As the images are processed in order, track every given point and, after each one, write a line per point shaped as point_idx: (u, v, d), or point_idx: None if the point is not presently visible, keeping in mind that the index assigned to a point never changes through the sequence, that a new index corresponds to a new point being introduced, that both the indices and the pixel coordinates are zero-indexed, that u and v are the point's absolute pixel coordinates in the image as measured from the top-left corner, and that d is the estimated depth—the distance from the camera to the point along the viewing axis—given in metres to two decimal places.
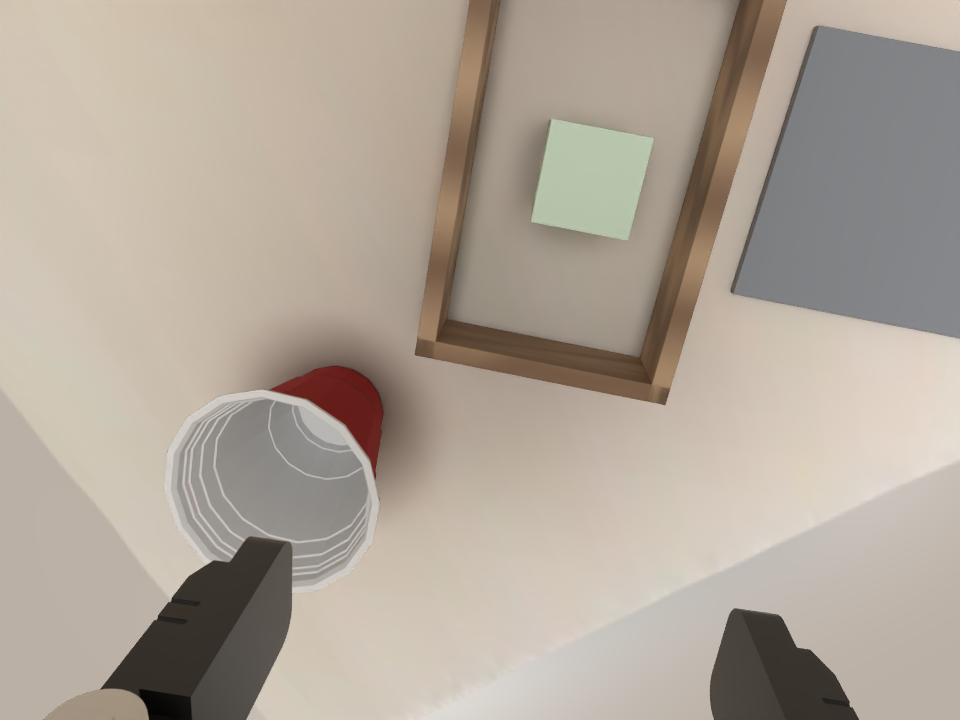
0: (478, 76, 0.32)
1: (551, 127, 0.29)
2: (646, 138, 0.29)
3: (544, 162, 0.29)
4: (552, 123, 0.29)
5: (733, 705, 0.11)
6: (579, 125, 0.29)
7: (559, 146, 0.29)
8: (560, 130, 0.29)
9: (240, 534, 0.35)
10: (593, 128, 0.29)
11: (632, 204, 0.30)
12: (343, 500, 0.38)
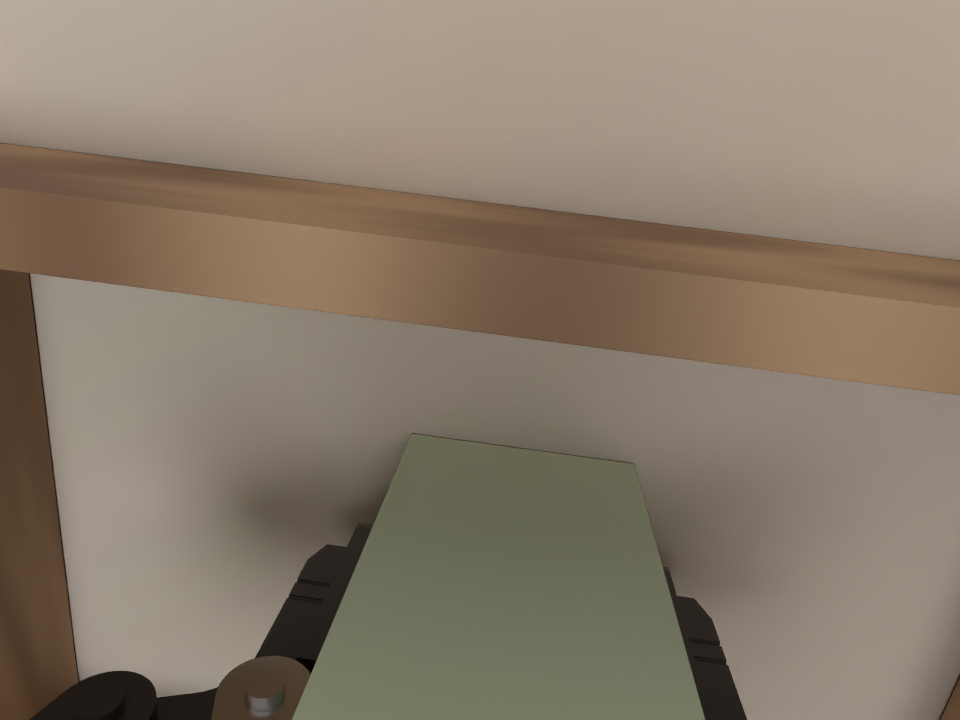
0: (854, 377, 0.08)
1: None
2: None
3: None
4: None
5: None
6: None
7: None
8: None
9: None
10: None
11: None
12: None
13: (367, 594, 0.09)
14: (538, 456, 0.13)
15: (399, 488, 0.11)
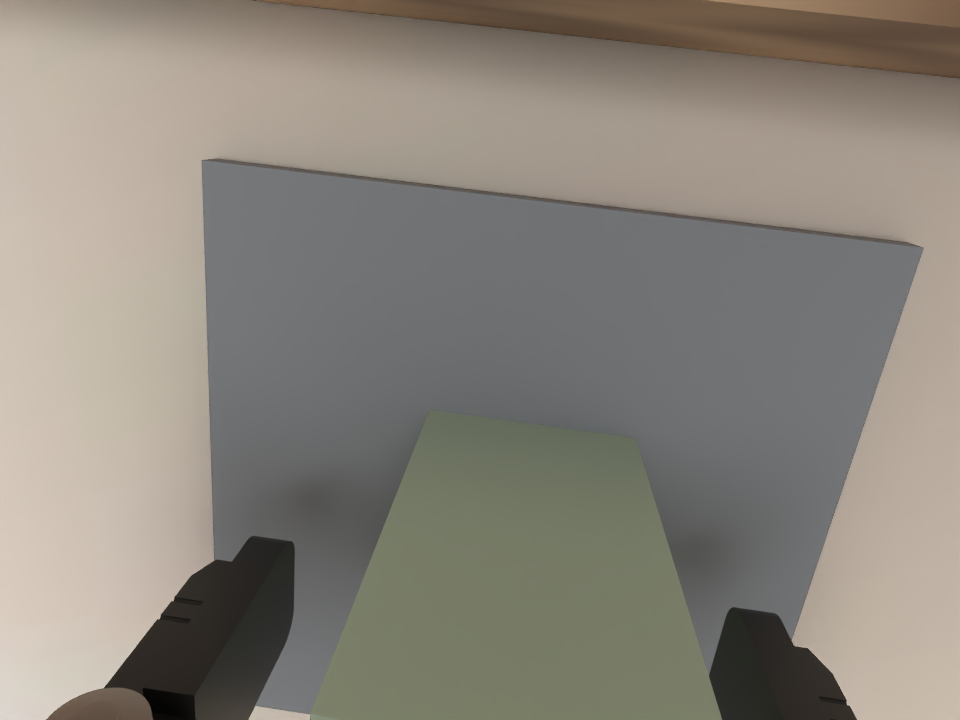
0: None
1: None
2: None
3: None
4: None
5: (731, 704, 0.11)
6: None
7: None
8: None
9: None
10: None
11: None
12: None
13: (397, 542, 0.10)
14: (547, 430, 0.14)
15: (421, 456, 0.13)
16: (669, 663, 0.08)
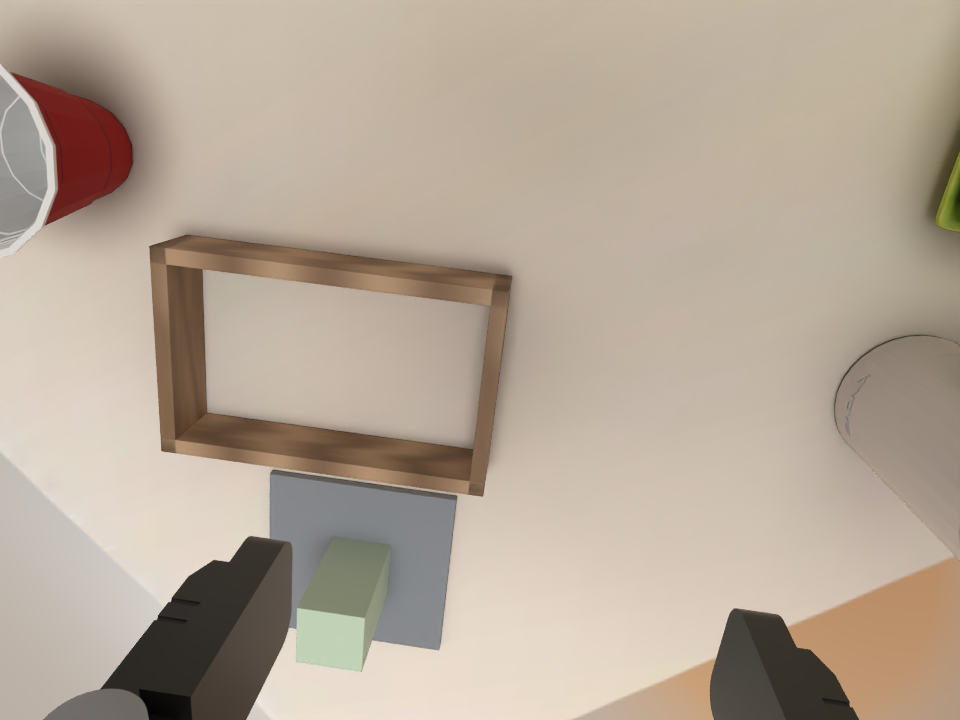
0: (384, 291, 0.40)
1: (359, 618, 0.43)
2: (360, 668, 0.45)
3: (336, 615, 0.43)
4: (362, 618, 0.43)
5: (733, 705, 0.11)
6: (362, 633, 0.44)
7: (348, 622, 0.43)
8: (358, 622, 0.43)
9: None
10: (362, 640, 0.44)
11: (319, 663, 0.45)
12: None
13: (316, 577, 0.46)
14: (365, 543, 0.51)
15: (326, 553, 0.49)
16: (363, 601, 0.45)
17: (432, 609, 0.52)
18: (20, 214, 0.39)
